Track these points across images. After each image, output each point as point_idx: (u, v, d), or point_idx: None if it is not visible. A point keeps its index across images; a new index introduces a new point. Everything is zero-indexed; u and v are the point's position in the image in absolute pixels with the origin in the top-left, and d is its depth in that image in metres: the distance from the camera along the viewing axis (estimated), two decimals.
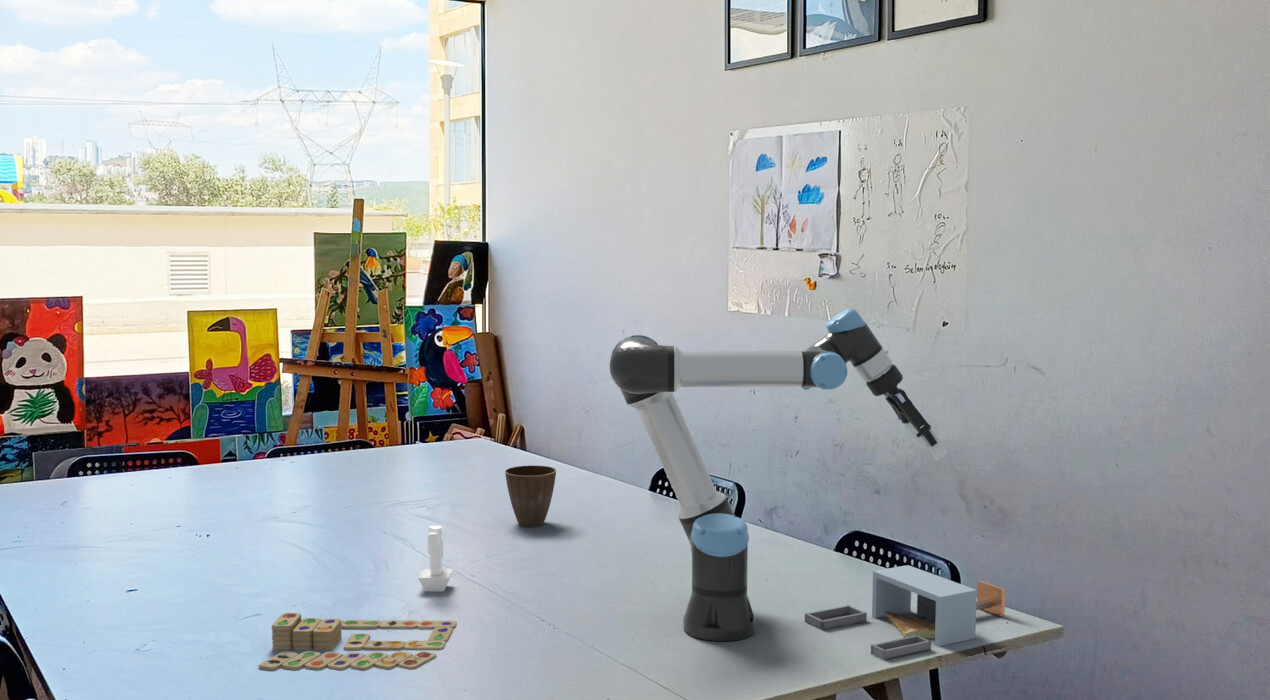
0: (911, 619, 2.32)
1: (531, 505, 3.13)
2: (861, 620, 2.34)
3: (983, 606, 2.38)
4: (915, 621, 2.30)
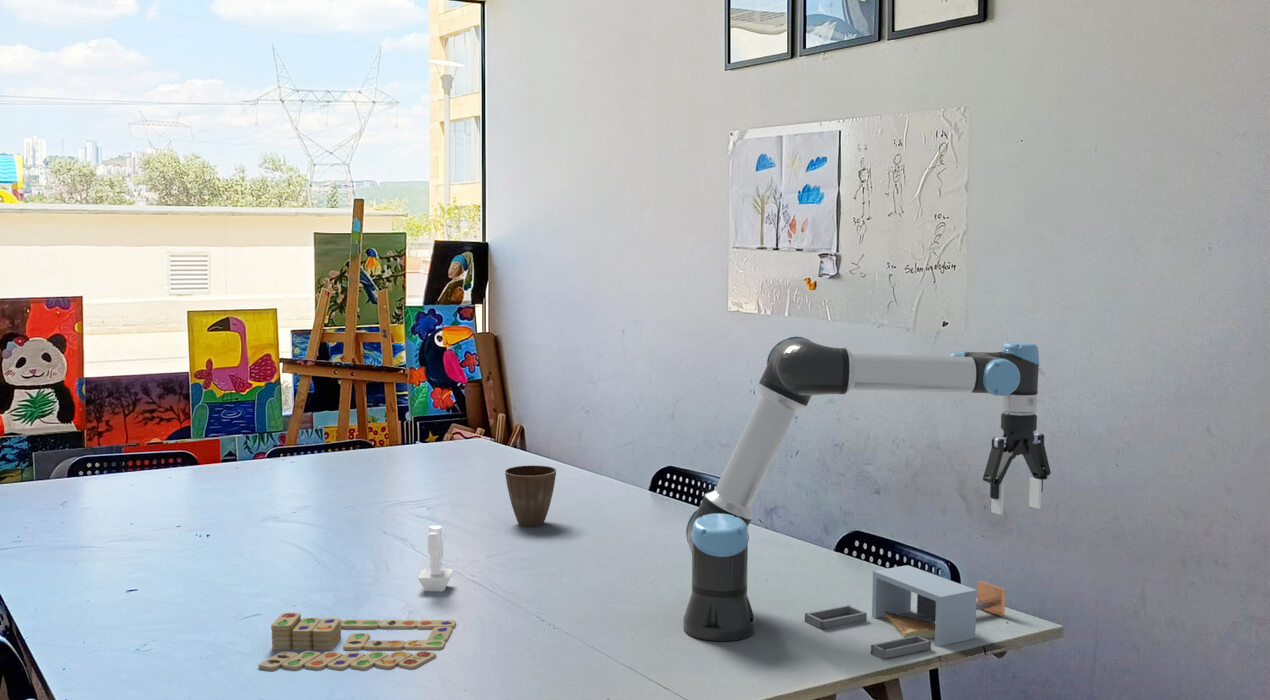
0: (910, 619, 2.32)
1: (531, 505, 3.13)
2: (861, 620, 2.34)
3: (983, 606, 2.38)
4: (914, 621, 2.30)
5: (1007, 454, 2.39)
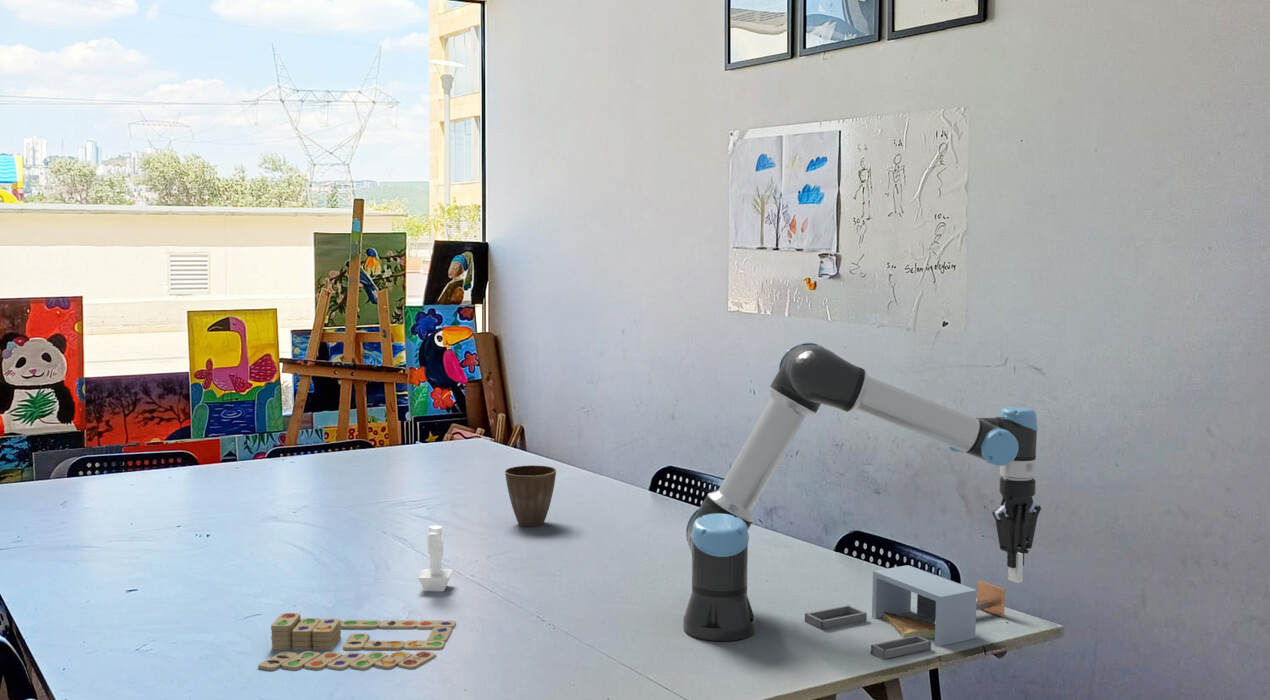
0: (909, 619, 2.32)
1: (531, 505, 3.13)
2: (861, 620, 2.34)
3: (983, 606, 2.38)
4: (913, 621, 2.30)
5: (1012, 521, 2.41)
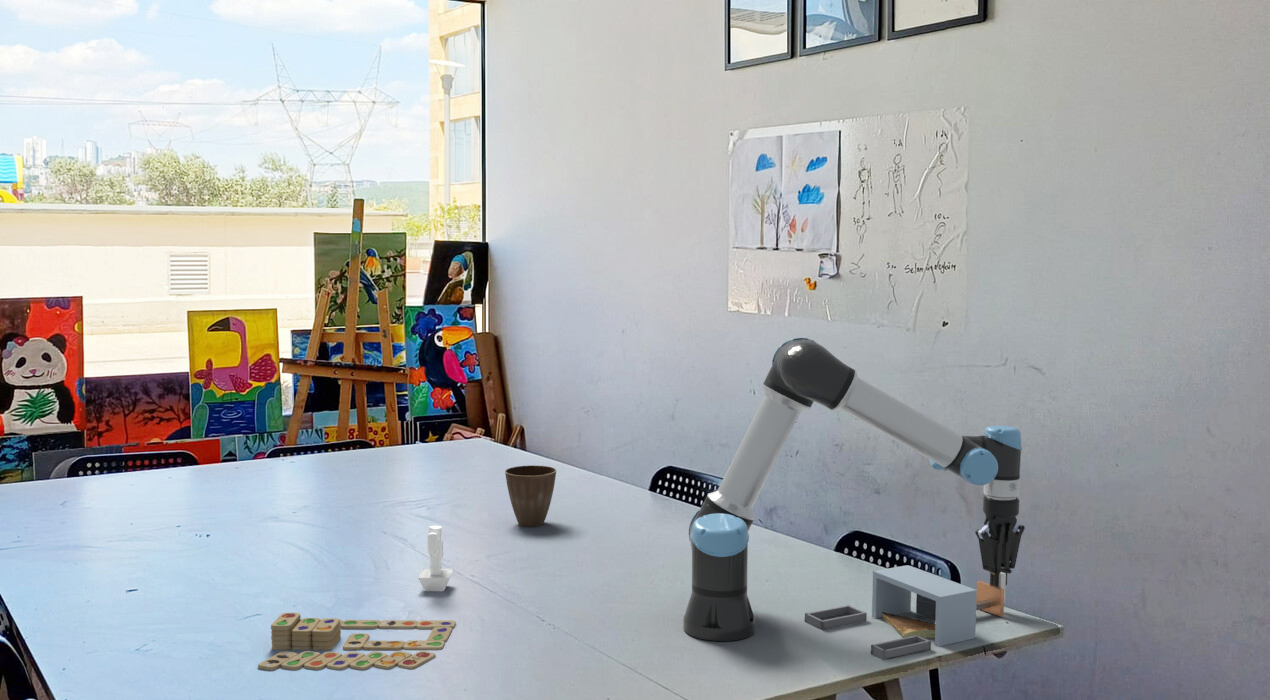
0: (908, 619, 2.32)
1: (531, 505, 3.13)
2: (861, 620, 2.34)
3: (982, 606, 2.38)
4: (912, 621, 2.30)
5: (995, 541, 2.39)
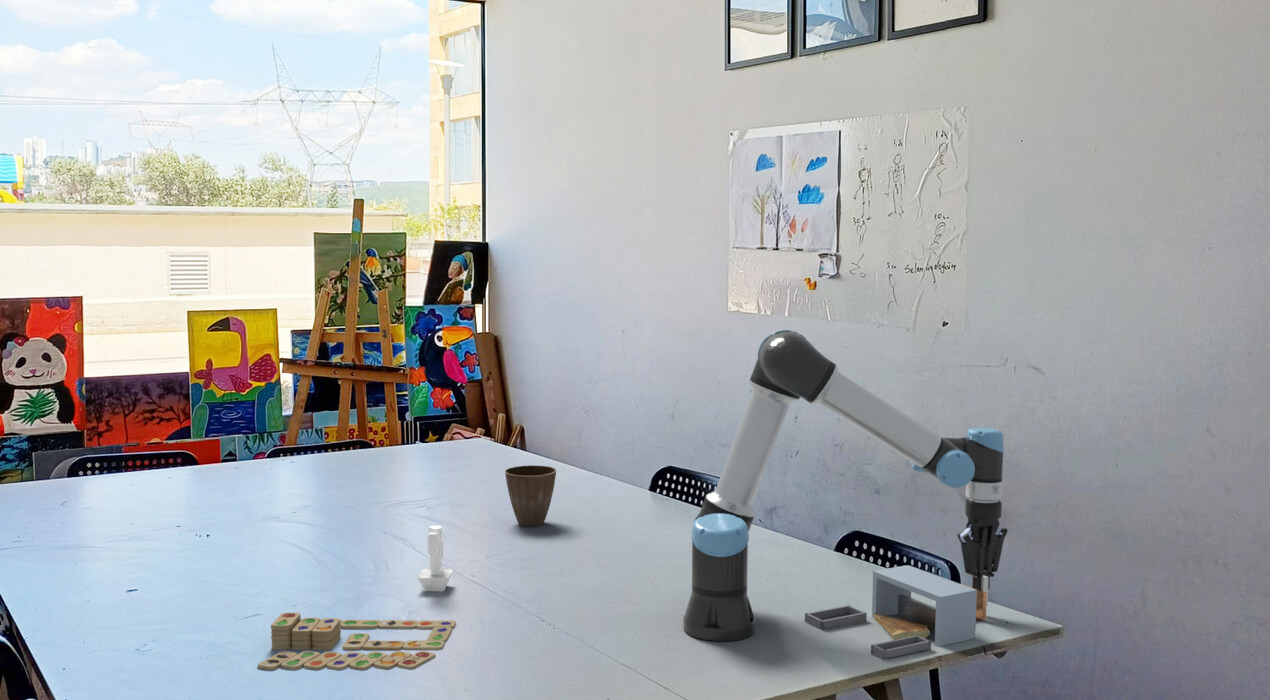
0: (899, 620, 2.31)
1: (531, 505, 3.13)
2: (861, 620, 2.34)
3: None
4: (903, 622, 2.29)
5: (977, 544, 2.37)
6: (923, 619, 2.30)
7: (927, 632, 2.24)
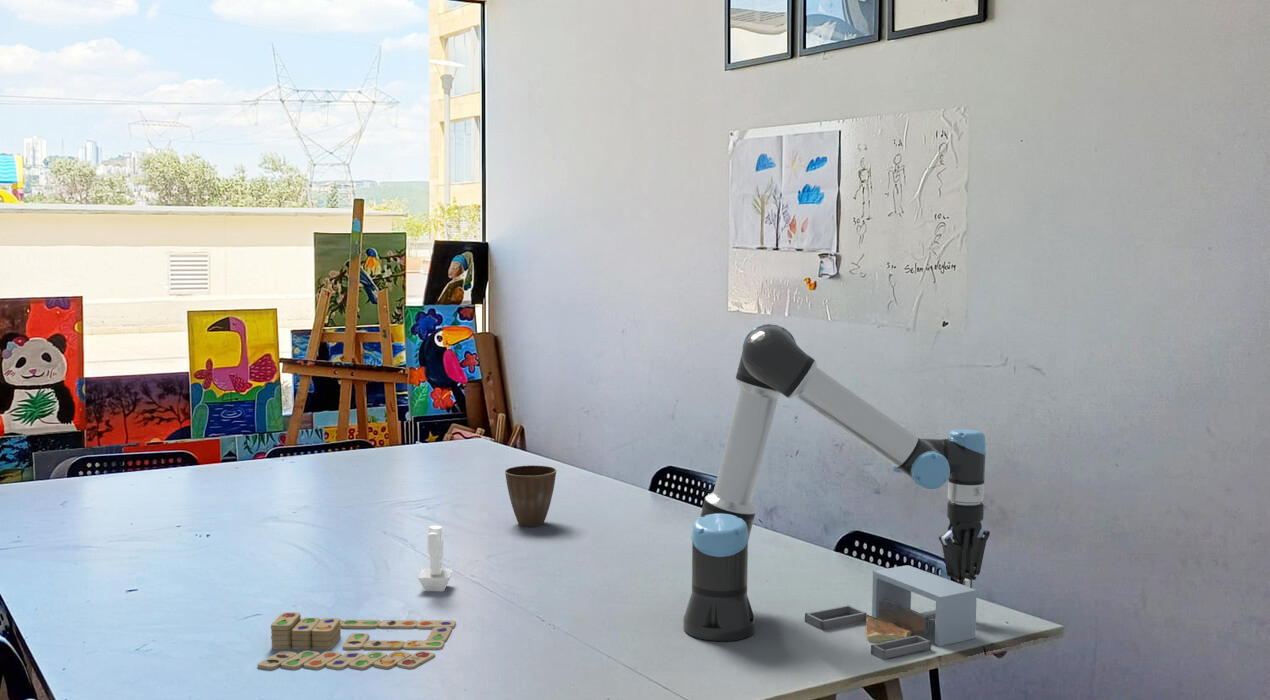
0: (885, 623, 2.29)
1: (531, 505, 3.13)
2: (861, 620, 2.34)
3: None
4: (887, 626, 2.27)
5: (959, 547, 2.34)
6: (904, 623, 2.27)
7: (903, 637, 2.21)
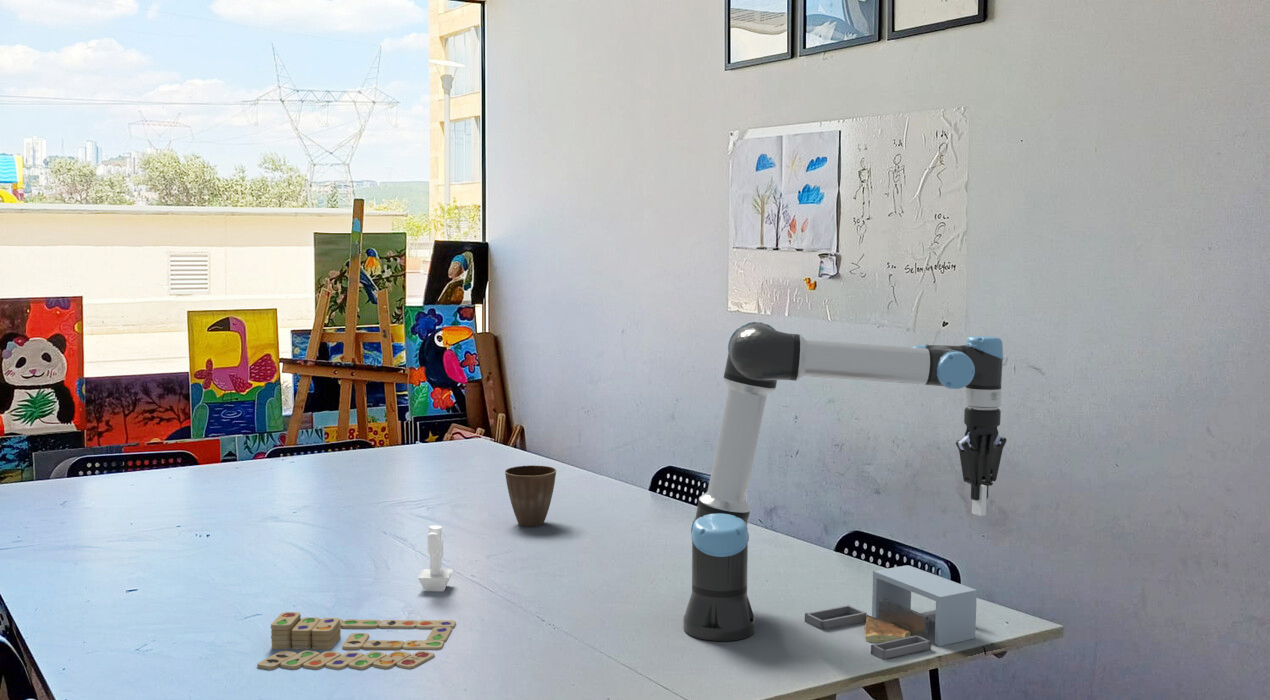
0: (884, 624, 2.29)
1: (531, 505, 3.13)
2: (861, 620, 2.34)
3: None
4: (886, 626, 2.27)
5: (976, 452, 2.35)
6: (904, 623, 2.27)
7: None
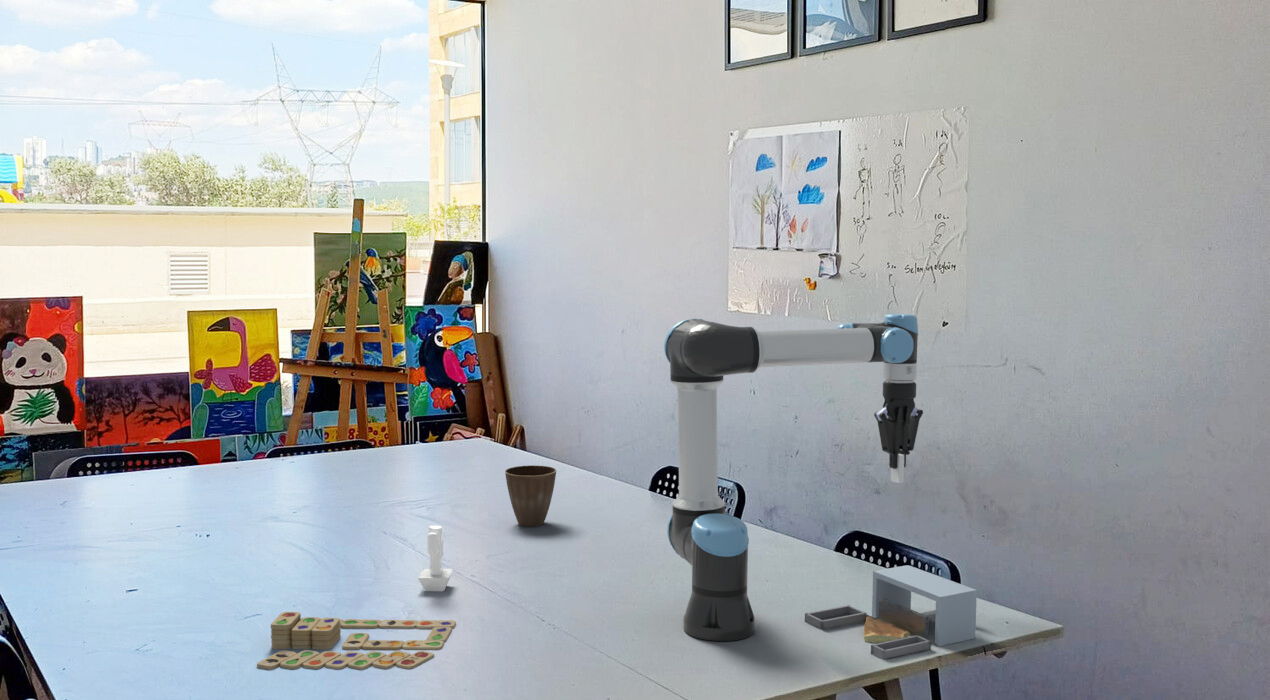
0: (883, 624, 2.29)
1: (531, 505, 3.13)
2: (861, 620, 2.34)
3: None
4: (885, 626, 2.27)
5: (893, 423, 2.50)
6: (904, 623, 2.27)
7: (899, 638, 2.21)
